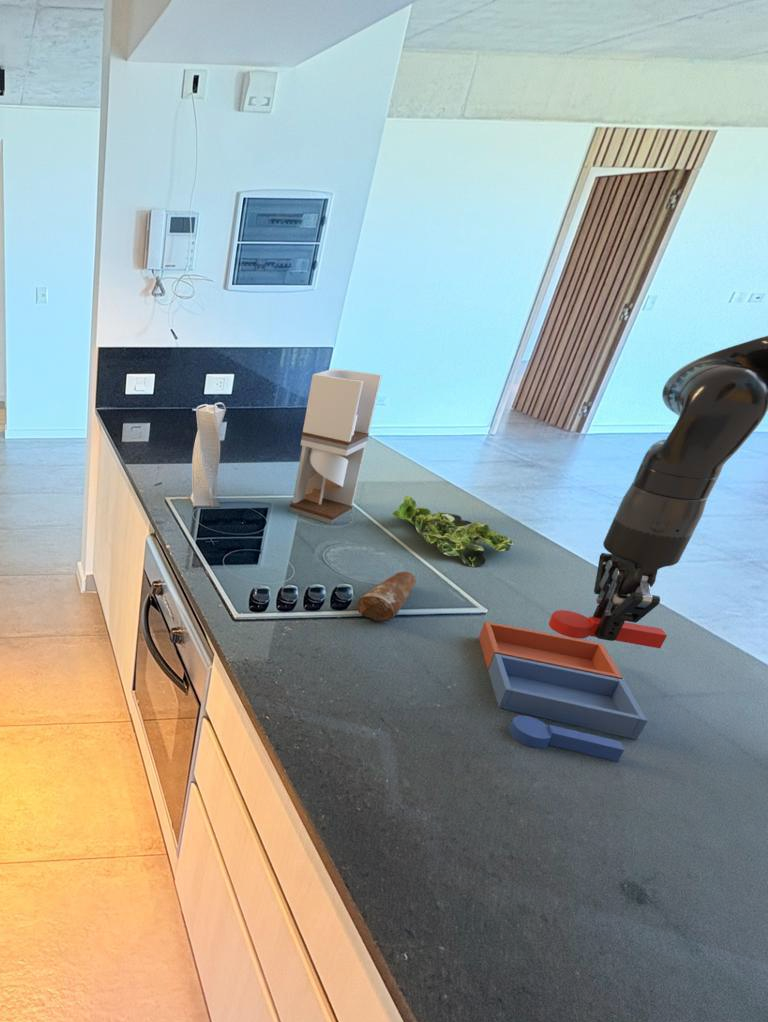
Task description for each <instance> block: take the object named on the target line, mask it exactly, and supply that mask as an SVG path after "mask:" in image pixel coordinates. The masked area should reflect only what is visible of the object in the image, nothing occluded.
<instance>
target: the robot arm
mask: <svg viewBox="0 0 768 1022" xmlns="http://www.w3.org/2000/svg"><path fill="white" fill-rule="evenodd" d="M661 398H662V401H663V403H664V405H665V406H666V407H667V409H669V411H671V412H673V413H674V414H675V415H677V416H678V418H677V421H676V422H675V425H674V426H673V427H672V429H671V431H670V433H669V434H668V436H667V438H666V439H665V438H664V439H661V440H657V441H656V442H654V443H652V444H651V446H649V448H648V449H647V450H646V452H645V454H644V456H643V458H642V460H641V462H640V463H639V464H640V465H639V467H638V469H637V472H636V474H635V475H634V478H633V480H632V482H631V484H630V486H629V487H628V490H627V491H626V493H625V494H624V495H623V497H622V499H621V502H620V504H619V506H618V509H617V510H616V513H615V515H614V516H613V520H612V522H611V524H610V526H609V528H608V531H607V534H606V535H605V538H604V540H603V544H602V546H603V548H604V550H606V552H608V553H606V552H601V553H600V555H599V559H598V564H597V571H596V575H595V583H594V588H593V594H595V595H597V597H596V604H597V606H596V608H595V611H594V612H593V614H592V617H596V618H601V620H600V623H599V626H598V628H597V630H596V632H595V635H596V637H595V638H597V639H599V640H605V641H608V642H613V641H615V640H616V638H617V636H618V634H619V632H620V630H621V628H622V626H623V624H624V622H627V623H633V624H636V623H638V622H639V621H641V620H642V618H644V617H645V616H646V615H648V614H649V613H650V612H652V611H653V610H654V609H655V608H656V607H657V606H658V605H659V604H660V603H661V597H660V596H659V595H654V594H652V590H651V588H652V587H653V586H654V584H655V583H656V579H657V574H658V570H660V569H662V568H665V567H672V566H675V565H676V564H678V563H679V562H680V560H681V558H682V556H683V554H684V552H685V550H686V548H687V546H688V544H689V542H690V540H691V538H692V537H693V535H694V533H695V530H696V528H697V526H698V524H699V523H700V521H701V519H702V516H703V514H704V511H705V507H706V504H707V501H708V499H709V496H710V495H711V493H712V491H713V488H714V487H715V485H716V483H717V481H718V479H719V476H720V474H721V473H722V470H723V467H724V466H725V464H726V463H727V462H728V460H730V459H731V458H732V457H733V456H734V455H735V454H736V453H737V451H738V450H739V449H740V448H741V447H742V446H743V444H744V443H745V442H746V441H747V440H748V439H749V438H750V437H751V435H752V434H753V433H754V432H755V430H756V429H757V428H758V426H759V425H760V424H761V423H762V421H763V420H764V419H765V416H766V414H767V412H768V335H765V336H761V337H757V338H754V339H752V340H748V341H745V342H742V343H738V344H736V345H732V346H729V347H726V348H723V349H719V350H717V351H714V352H711V353H709V354H707V355H704V356H701V357H699V358H696V359H695V360H693V361H691V362H689V363H686V364H685V365H684V366H682V367H681V368H679V369H678V370H676V371H675V372H673V374H672V375H671V376H670V377H669V378H668V379H667V381H666V382H665V384H664V385H663V388H662V394H661Z"/></svg>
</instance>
